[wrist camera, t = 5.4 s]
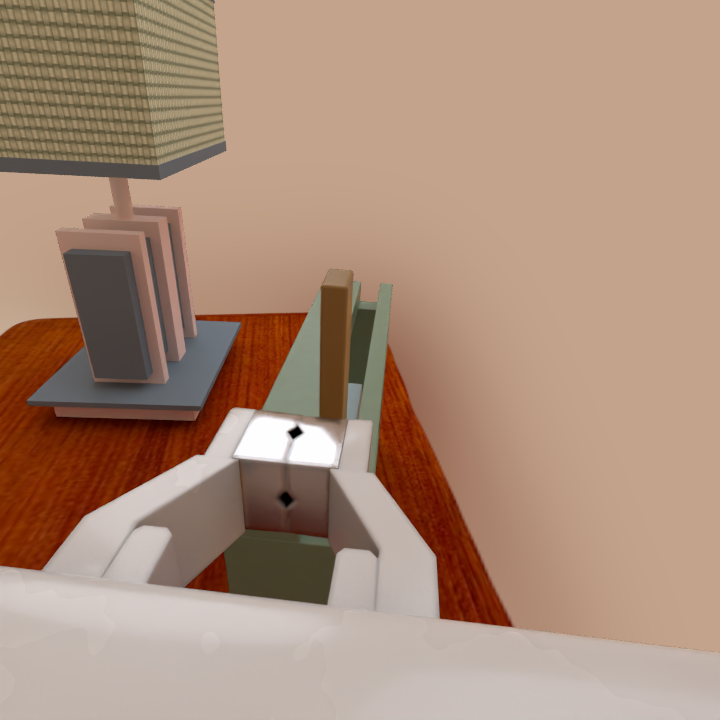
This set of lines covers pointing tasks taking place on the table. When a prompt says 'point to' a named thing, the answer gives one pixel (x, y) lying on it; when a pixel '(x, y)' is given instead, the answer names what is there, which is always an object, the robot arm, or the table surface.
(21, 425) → the table surface
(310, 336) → the window frame
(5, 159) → the desk lamp
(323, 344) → the window pane
